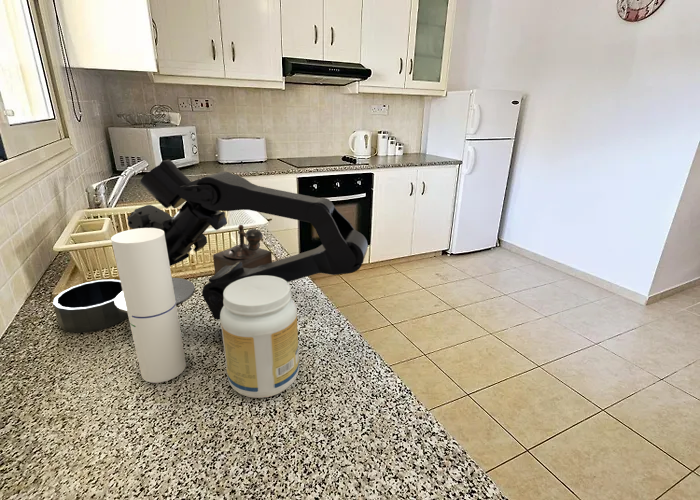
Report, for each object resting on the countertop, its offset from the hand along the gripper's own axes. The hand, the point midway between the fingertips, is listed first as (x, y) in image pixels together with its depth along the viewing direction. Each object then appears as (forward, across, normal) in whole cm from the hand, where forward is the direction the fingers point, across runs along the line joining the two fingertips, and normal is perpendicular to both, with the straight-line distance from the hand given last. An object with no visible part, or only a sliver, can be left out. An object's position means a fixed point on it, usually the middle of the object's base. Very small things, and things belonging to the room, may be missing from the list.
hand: (146, 274), depth 74 cm
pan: (+19, 0, -2) cm, 19 cm away
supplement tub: (-12, +10, +29) cm, 32 cm away
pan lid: (+2, 0, +4) cm, 5 cm away
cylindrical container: (+1, +12, +16) cm, 20 cm away
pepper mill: (0, -20, +17) cm, 26 cm away
